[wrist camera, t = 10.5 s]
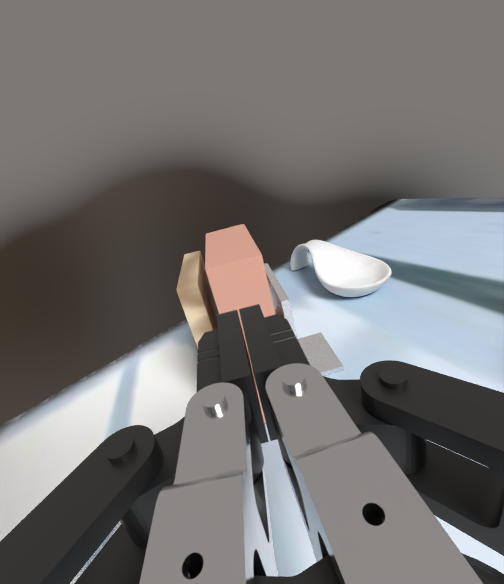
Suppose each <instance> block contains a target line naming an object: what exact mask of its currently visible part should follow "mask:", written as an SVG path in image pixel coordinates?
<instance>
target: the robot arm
mask: <svg viewBox="0 0 504 584" xmlns="http://www.w3.org/2000/svg"><path fill="white" fill-rule="evenodd" d="M239 312H240V317H241V321H242V325H243V330H244V334H245V338H244V334H243V330H242V327H241V323H240V319H239V315H238V311H237V310H233V311H229V312H225V313H221V314H217V315H216V317H217V329H216V330H212V331H208V332H204V334H203V336H202V337H201V339H200V340H199V342H198V364H197V393H196V394H195V395H194V396H193V397H192V398H191V399H190V401H189V403H188V405H187V408H186V414H185V417H184V418H182V419H181V420H180V421H178V422H177V423H175V424H174V425H172V426H170V427H168V428H166V429H165V430H163V431H161V432H159V433H157V434H155V435H154V434H153V432H152V430H151V429H150V428H148V427H146V426H142V425H135V426H129V427H126V428H123V429H121V430H119V431H117V432H115V433H114V434H112V435H111V436H109V437H108V438H107V439H106V440H105V441H103V442H102V443H101V444H100V445H99V446H98V447H97V448H96V449H95V450H94V451H93V452H92V453H91V454H90V455H89V456H88V457H87V458H86V459H85V460H84V461H83V462H82V463H81V464H80V465H79V466H78V467H77V468H76V469H75V470H74V471H73V472H71V473H70V474H69V475H68V476H67V477H66V478H65V479H64V480H63V481H62V482H61V483H60V484H59V485H58V486H57V487H56V488H55V489H54V490H53V491H52V492H51V493H50V494H49V495H48V496H47V497H46V498H45V499H44V500H43V501H42V502H41V503H40V504H39V505H37V506H36V507H35V508H34V509H33V510H32V511H31V512H30V513H29V514H28V515H27V516H26V517H25V518H24V519H23V520H22V521H21V522H20V523H19V524H18V525H17V526H16V527H15V528H14V529H13V530H12V531H11V532H10V533H9V534H8V535H7V536H6V537H5V538H4V539H2V540H1V541H0V584H70V582H71V581H72V580H73V578H74V577H75V576H76V575H77V573H78V572H79V571H80V570H81V568H82V567H83V566H84V565H85V563H86V562H87V561H88V560H89V558H90V557H91V556H92V555H93V553H94V552H95V551H96V550H97V548H98V547H99V546H100V545H101V543H102V542H103V541H104V540H105V538H106V537H107V536H108V535H109V533H110V532H111V531H112V530H113V528H114V527H115V526H116V525H117V523H118V522H119V521H120V522H121V525H120V527H119V528H118V529H117V530H116V532H115V533H114V534H113V535H112V537H111V538H110V539H109V541H108V542H107V543H106V544H105V546H104V547H103V548H102V549H101V551H100V552H99V553H98V554H97V556H96V557H95V558H94V559H93V561H92V562H91V563H90V565H89V566H88V567H87V568H86V570H85V571H84V572H83V573H82V575H81V576H80V577H79V578H78V580H77V581H76V582H75V584H504V574H502V573H501V572H499V571H498V570H496V569H494V568H492V567H490V566H488V565H486V564H484V563H483V562H481V561H479V560H477V559H474V558H472V557H470V556H467V555H465V554H462V553H461V552H460V551H459V549H458V548H457V546H456V545H455V544H454V542H453V541H452V540H451V538H450V537H449V535H448V534H447V533H446V531H445V530H444V528H443V527H442V526H441V524H440V523H439V521H438V520H437V519H436V517H435V516H437V517H438V518H440V519H442V520H444V521H445V522H447V523H449V524H450V525H452V526H454V527H455V528H457V529H459V530H461V531H462V532H464V533H466V534H467V535H469V536H471V537H472V538H474V539H476V540H478V541H479V542H481V543H483V544H484V545H486V546H488V547H490V548H491V549H493V550H495V551H496V552H498V553H500V554H501V555H503V556H504V393H502V392H499V391H496V390H493V389H489V388H486V387H483V386H479V385H476V384H473V383H470V382H466V381H463V380H460V379H457V378H453V377H450V376H447V375H443V374H440V373H437V372H434V371H430V370H427V369H424V368H420V367H417V366H414V365H411V364H407V363H404V362H400V361H380V362H376V363H373V364H371V365H369V366H368V367H366V368H365V369H364V370H363V372H362V373H361V376H360V380H337V379H331V378H327V377H324V376H322V374H321V373H320V372H319V371H318V370H317V369H316V368H314V367H312V366H311V365H310V364H309V362H308V360H307V358H306V356H305V354H304V352H303V350H302V348H301V346H300V344H299V342H298V340H297V338H296V336H295V334H294V332H293V330H292V328H291V326H290V324H289V322H288V320H287V319H285V318H284V317H282V316H280V315H279V314H275V315H271V316H267V317H264V315H263V313H262V310H261V307H260V305H259V304H257V305H253V306H249V307H245V308H241V309H239ZM245 339H246V342H245ZM246 343H247V346H246ZM247 347H248V350H247ZM248 352H249V354H248ZM249 356H250V358H249ZM250 361H251V362H250ZM251 365H252V367H251ZM252 369H253V371H252ZM253 374H254V375H253ZM254 378H255V380H254ZM255 382H256V384H255ZM256 385H257V389H258V393H259V397H260V401H261V405H262V409H263V413H264V417H265V420H266V424H267V428H268V432H269V436H270V440H271V441H272V440H276V439H278V442H279V446H280V450H281V453H282V457H283V462H284V466H285V469H286V472H287V475H288V478H289V481H290V483H291V486H292V489H293V492H294V495H295V498H296V501H297V504H298V506H299V509H300V512H301V515H302V518H303V521H304V524H305V527H306V529H307V532H308V535H309V538H310V541H311V544H312V547H313V551H314V554H315V557H316V561H317V562H316V563H315V564H313V565H312V566H310V567H309V568H308V569H306V570H305V571H303V572H302V573H300V574H298V575H296V576H293V577H279V576H278V571H277V567H276V561H275V555H274V548H273V540H272V531H271V522H270V513H269V504H268V495H267V486H266V477H265V470H264V466H263V464H264V458H263V452H262V447H261V443H265V442H268V438H267V433H266V429H265V424H264V420H263V415H262V411H261V407H260V402H259V398H258V393H257V389H256ZM427 440H429V441H427ZM430 441H431V442H430ZM432 442H433V443H432ZM434 443H436V444H438V445H436V444H434ZM439 445H440V446H439ZM441 446H442V447H441ZM443 447H445V448H447V449H445V448H443ZM448 449H449V450H448ZM450 450H451V451H450ZM452 451H454V452H456V453H458V454H456V453H454V452H452ZM459 454H460V455H459ZM461 455H463V456H465V457H467V458H465V457H463V456H461ZM468 458H469V459H468ZM470 459H472V460H474V461H476V462H474V461H472V460H470ZM477 462H478V463H477ZM479 463H481V464H483V465H485V466H483V465H481V464H479ZM486 466H487V467H486ZM488 467H489V468H488ZM434 515H435V516H434Z"/></svg>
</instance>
